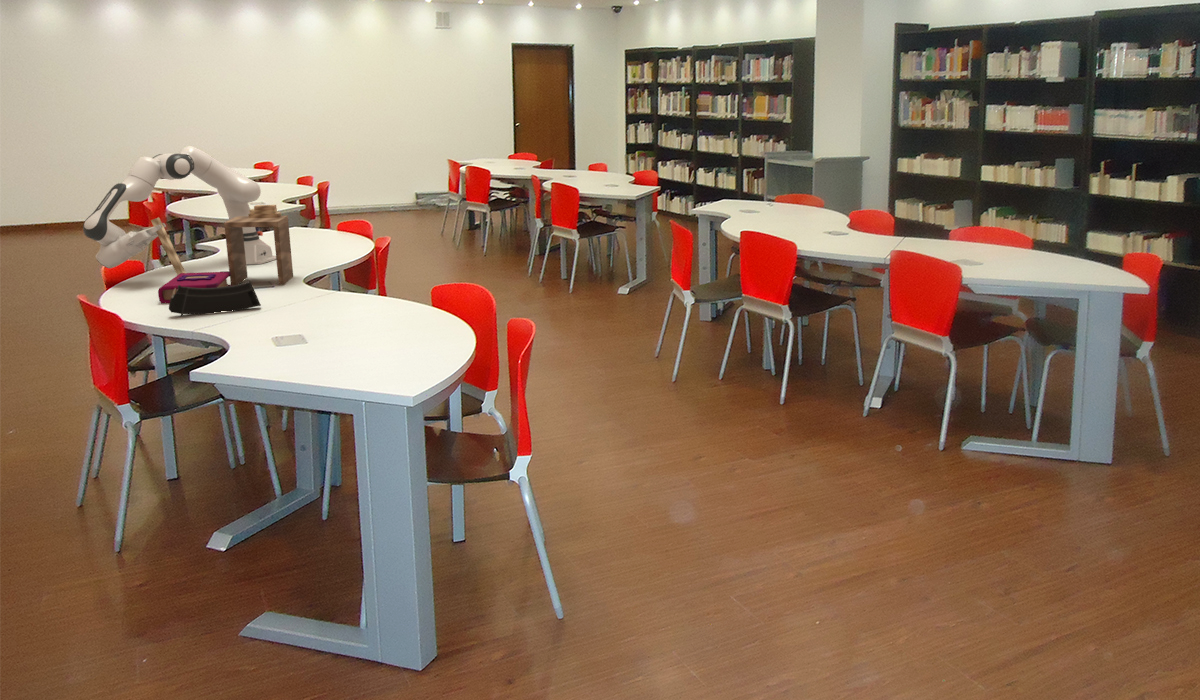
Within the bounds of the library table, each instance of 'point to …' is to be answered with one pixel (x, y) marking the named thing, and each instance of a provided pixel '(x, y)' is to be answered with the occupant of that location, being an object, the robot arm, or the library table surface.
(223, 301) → the magazine
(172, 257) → the batten
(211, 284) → the book
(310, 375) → the library table surface
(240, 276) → the rack
